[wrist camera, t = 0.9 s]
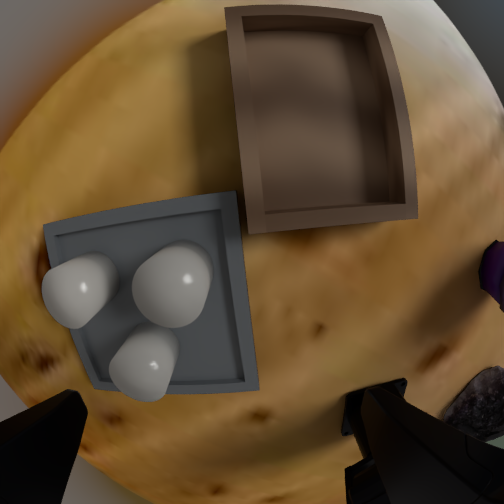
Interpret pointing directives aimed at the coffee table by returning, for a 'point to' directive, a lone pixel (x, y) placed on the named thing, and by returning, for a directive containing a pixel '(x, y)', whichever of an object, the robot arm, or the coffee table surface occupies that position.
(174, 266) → the stone
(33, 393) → the coffee table surface
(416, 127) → the coffee table surface
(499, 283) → the potion bottle
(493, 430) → the crystal cluster
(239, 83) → the walnut box
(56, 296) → the stone
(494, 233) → the coffee table surface
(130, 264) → the slate tray
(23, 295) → the coffee table surface
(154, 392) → the stone
